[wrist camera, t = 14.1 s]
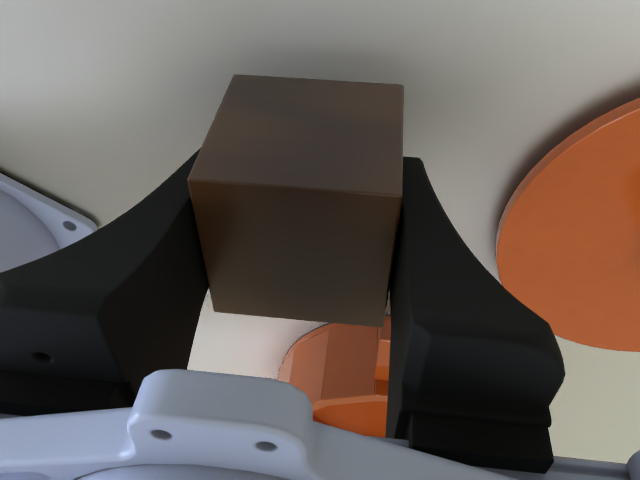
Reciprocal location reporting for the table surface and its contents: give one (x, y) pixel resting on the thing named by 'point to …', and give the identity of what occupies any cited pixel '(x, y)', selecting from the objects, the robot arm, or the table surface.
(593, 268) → the pan lid
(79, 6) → the table surface
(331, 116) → the block
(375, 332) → the pan
